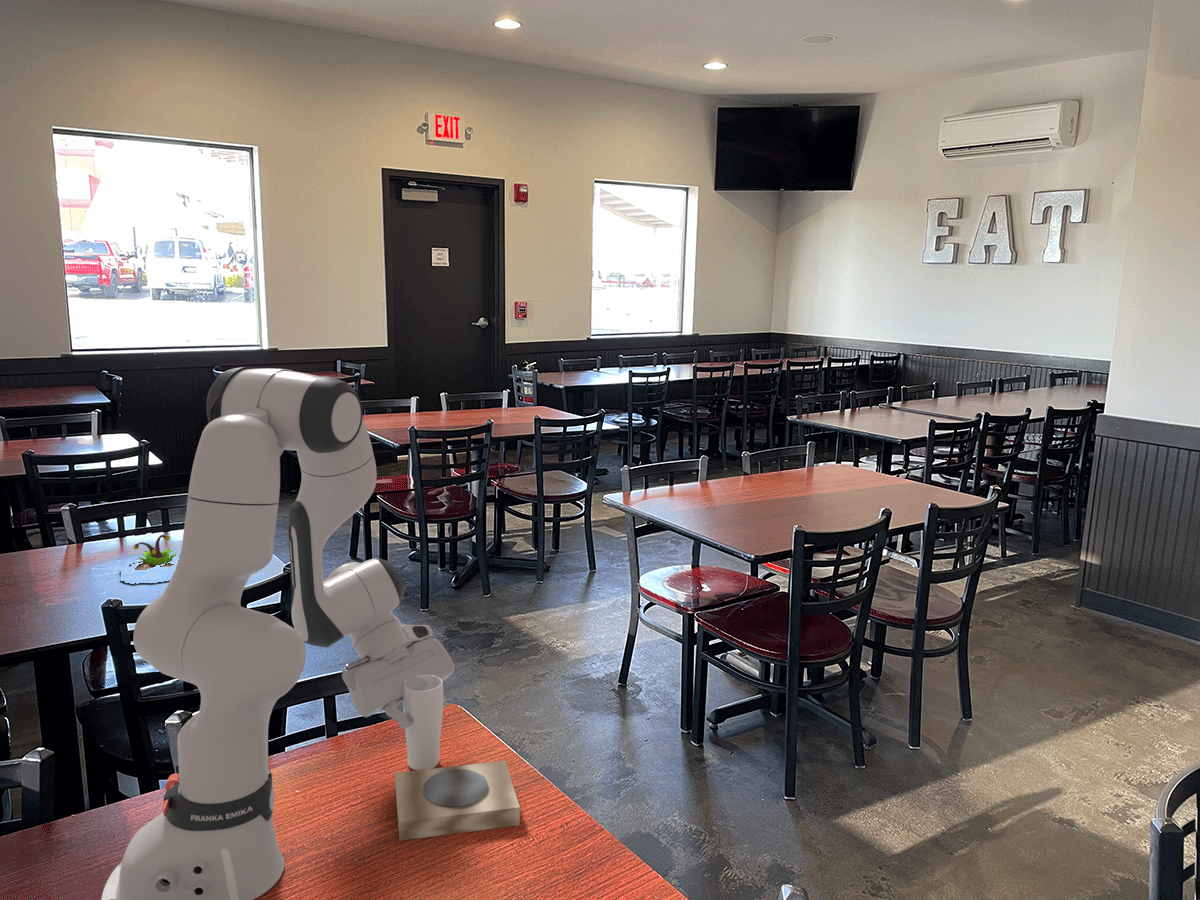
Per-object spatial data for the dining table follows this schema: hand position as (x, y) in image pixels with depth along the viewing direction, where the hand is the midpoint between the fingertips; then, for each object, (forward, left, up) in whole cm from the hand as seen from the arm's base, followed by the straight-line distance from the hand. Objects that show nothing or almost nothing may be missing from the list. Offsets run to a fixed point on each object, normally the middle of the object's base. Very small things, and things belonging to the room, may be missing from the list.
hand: (426, 717), depth 149 cm
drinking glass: (0, 0, -9) cm, 9 cm away
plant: (-65, +120, -10) cm, 136 cm away
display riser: (+4, -14, -9) cm, 17 cm away
